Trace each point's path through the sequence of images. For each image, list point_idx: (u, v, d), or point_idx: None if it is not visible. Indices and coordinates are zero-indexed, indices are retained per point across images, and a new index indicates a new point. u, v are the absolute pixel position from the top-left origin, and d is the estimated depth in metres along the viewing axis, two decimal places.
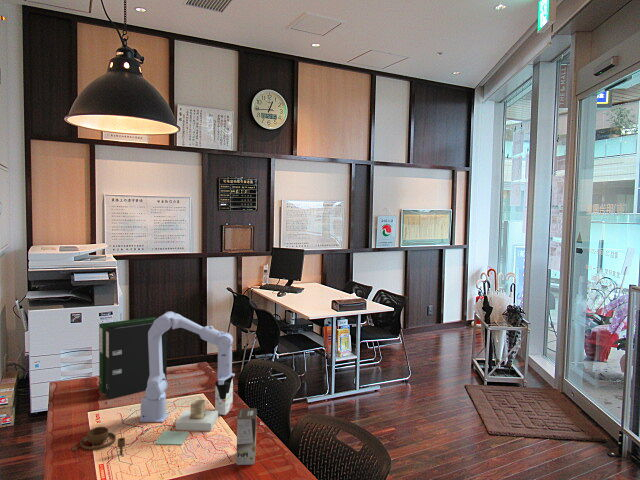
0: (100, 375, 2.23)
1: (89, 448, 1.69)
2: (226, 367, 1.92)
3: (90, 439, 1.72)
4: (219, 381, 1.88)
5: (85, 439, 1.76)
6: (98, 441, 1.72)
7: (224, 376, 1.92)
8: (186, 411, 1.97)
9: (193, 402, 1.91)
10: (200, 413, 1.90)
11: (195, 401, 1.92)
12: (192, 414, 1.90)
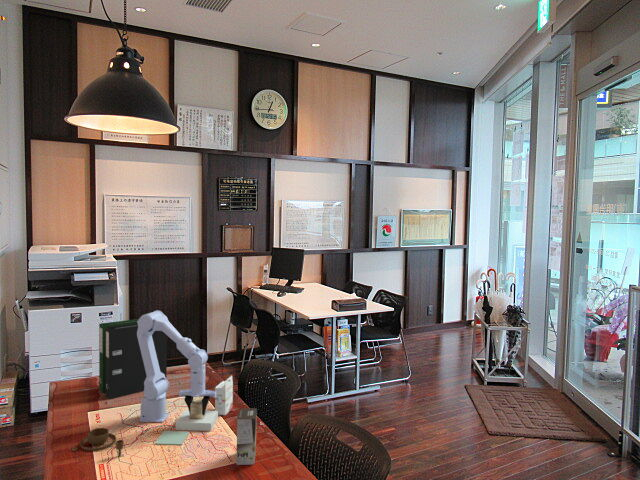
0: (100, 375, 2.23)
1: (88, 449, 1.68)
2: None
3: (90, 440, 1.71)
4: None
5: (86, 440, 1.76)
6: (98, 442, 1.71)
7: (190, 392, 1.91)
8: (186, 411, 1.97)
9: (193, 402, 1.91)
10: (200, 413, 1.90)
11: (195, 401, 1.92)
12: (192, 413, 1.90)
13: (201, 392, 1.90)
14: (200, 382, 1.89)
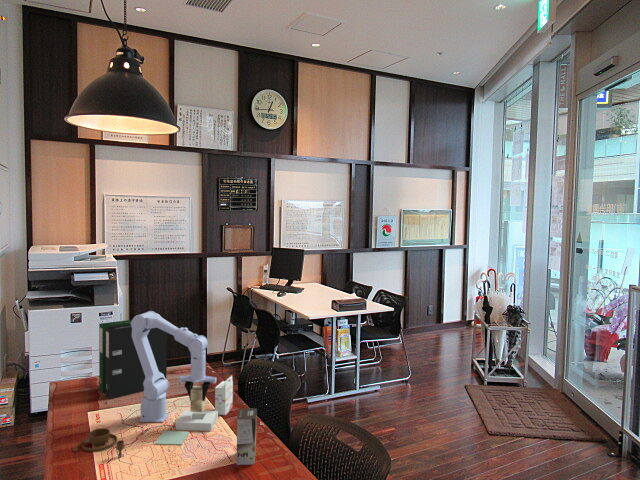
0: (100, 375, 2.23)
1: (89, 449, 1.68)
2: None
3: (91, 440, 1.71)
4: None
5: (87, 440, 1.75)
6: (99, 443, 1.71)
7: (190, 377, 1.91)
8: (186, 411, 1.97)
9: (193, 388, 1.91)
10: (200, 399, 1.89)
11: (195, 387, 1.92)
12: (192, 399, 1.90)
13: (201, 378, 1.89)
14: (200, 368, 1.89)
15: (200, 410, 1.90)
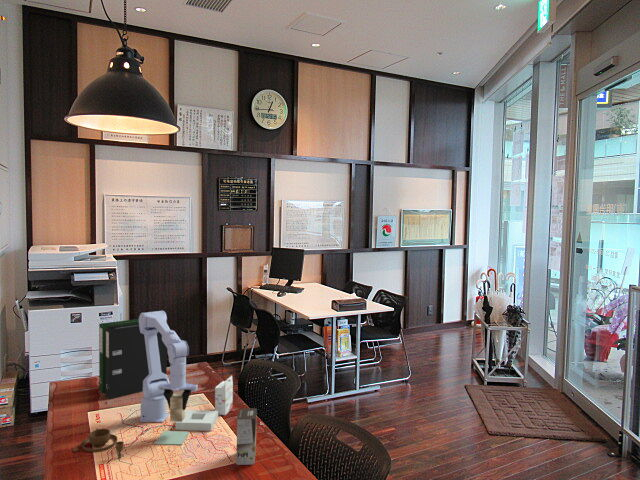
0: (100, 375, 2.23)
1: (89, 450, 1.68)
2: (170, 376, 1.79)
3: (91, 441, 1.70)
4: None
5: (88, 440, 1.75)
6: (99, 443, 1.70)
7: (169, 385, 1.80)
8: (186, 411, 1.97)
9: (173, 396, 1.80)
10: (180, 408, 1.79)
11: (175, 395, 1.81)
12: (172, 408, 1.79)
13: (181, 385, 1.79)
14: (175, 375, 1.78)
15: (180, 420, 1.79)
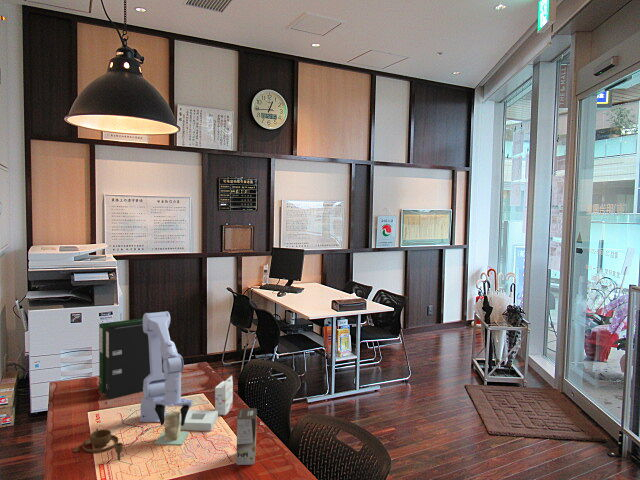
0: (100, 375, 2.23)
1: (89, 451, 1.67)
2: (165, 392, 1.77)
3: (92, 441, 1.70)
4: None
5: (89, 441, 1.75)
6: (99, 444, 1.70)
7: (164, 400, 1.78)
8: None
9: (168, 414, 1.78)
10: (175, 426, 1.77)
11: (170, 413, 1.79)
12: (166, 426, 1.77)
13: (176, 401, 1.76)
14: (169, 391, 1.76)
15: (175, 438, 1.77)
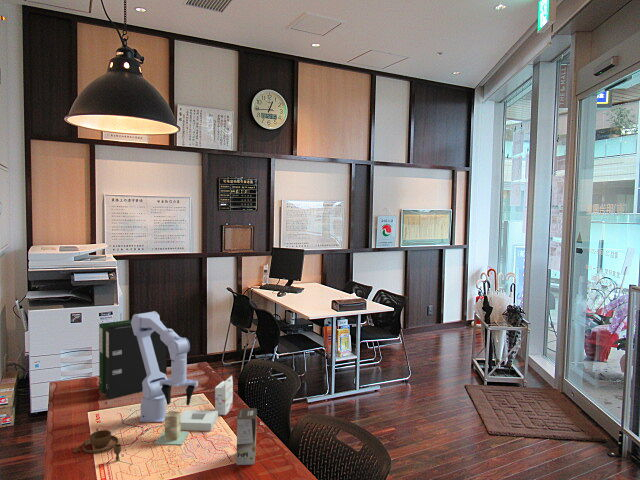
0: (100, 375, 2.23)
1: (89, 451, 1.67)
2: (171, 372, 1.84)
3: (91, 442, 1.70)
4: None
5: (89, 441, 1.75)
6: (99, 445, 1.69)
7: (170, 381, 1.85)
8: (186, 411, 1.97)
9: (168, 414, 1.78)
10: (175, 426, 1.77)
11: (170, 413, 1.79)
12: (166, 426, 1.77)
13: (182, 381, 1.83)
14: (177, 371, 1.82)
15: (175, 438, 1.77)
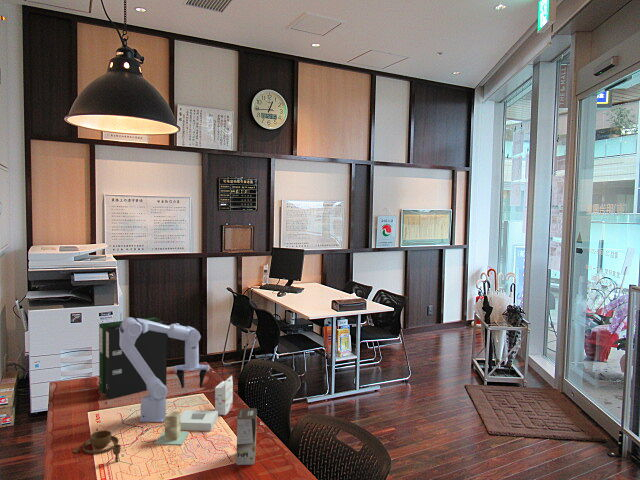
0: (100, 375, 2.23)
1: (89, 452, 1.67)
2: (185, 358, 2.02)
3: (91, 442, 1.69)
4: None
5: (90, 441, 1.74)
6: (99, 445, 1.69)
7: (184, 366, 2.03)
8: (186, 411, 1.97)
9: (168, 414, 1.78)
10: (175, 426, 1.77)
11: (170, 413, 1.79)
12: (166, 426, 1.77)
13: (195, 366, 2.01)
14: (198, 355, 2.03)
15: (175, 438, 1.77)
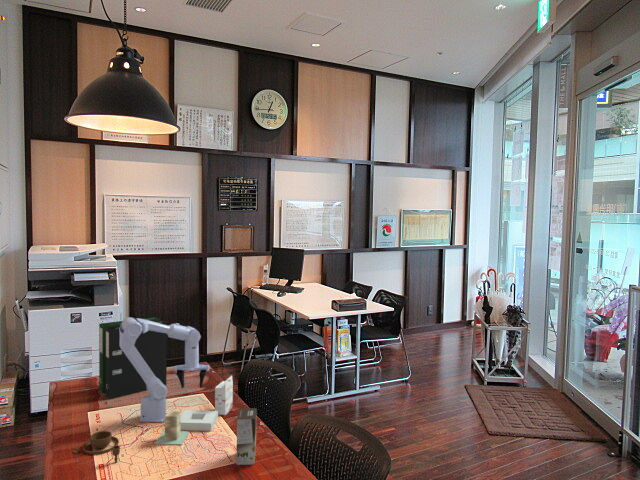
0: (100, 375, 2.23)
1: (89, 452, 1.66)
2: (185, 358, 2.02)
3: (91, 443, 1.69)
4: None
5: None
6: (99, 446, 1.69)
7: (184, 366, 2.03)
8: (186, 411, 1.97)
9: (168, 414, 1.78)
10: (175, 426, 1.77)
11: (170, 413, 1.79)
12: (166, 426, 1.77)
13: (195, 366, 2.01)
14: (198, 355, 2.03)
15: (175, 438, 1.77)
